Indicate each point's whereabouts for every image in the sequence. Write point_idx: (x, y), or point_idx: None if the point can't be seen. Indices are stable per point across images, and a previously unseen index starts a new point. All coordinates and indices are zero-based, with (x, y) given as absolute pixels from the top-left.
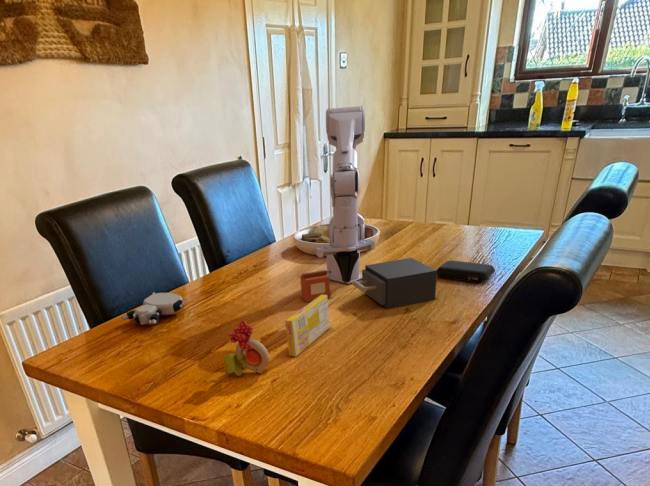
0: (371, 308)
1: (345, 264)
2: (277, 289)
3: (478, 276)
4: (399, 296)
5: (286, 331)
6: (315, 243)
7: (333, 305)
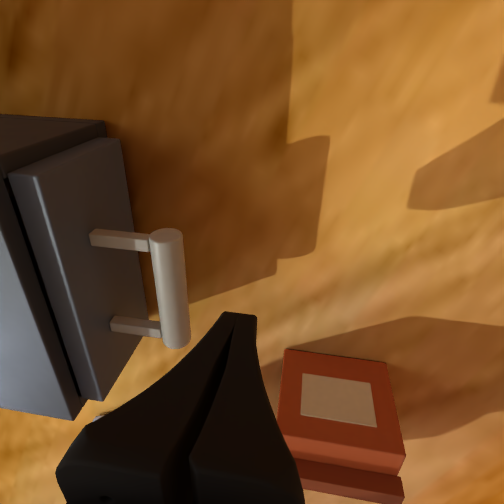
0: (172, 163)
1: (239, 412)
2: None
3: None
4: (3, 125)
5: None
6: None
7: (309, 284)
